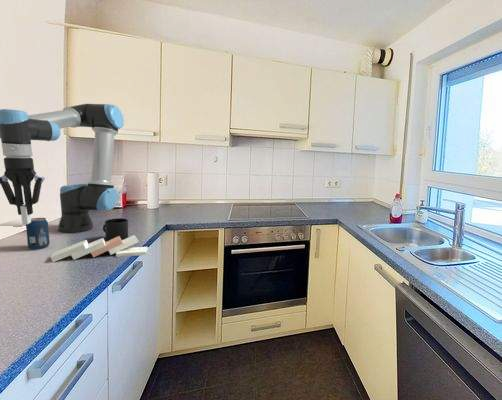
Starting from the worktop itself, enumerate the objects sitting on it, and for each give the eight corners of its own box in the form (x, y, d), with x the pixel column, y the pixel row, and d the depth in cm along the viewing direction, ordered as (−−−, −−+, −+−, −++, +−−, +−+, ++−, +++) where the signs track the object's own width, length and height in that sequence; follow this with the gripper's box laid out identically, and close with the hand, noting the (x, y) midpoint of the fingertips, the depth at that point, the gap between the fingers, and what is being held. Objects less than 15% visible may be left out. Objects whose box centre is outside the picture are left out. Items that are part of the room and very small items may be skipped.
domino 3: (90, 253, 97) (120, 239, 102) (90, 248, 102) (119, 235, 107) (93, 257, 98) (122, 243, 103) (93, 253, 103) (121, 239, 108)
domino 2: (71, 255, 94) (102, 241, 99) (72, 250, 100) (102, 237, 104) (73, 259, 95) (105, 246, 100) (75, 254, 100) (105, 242, 105)
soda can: (36, 244, 109) (33, 217, 107) (53, 244, 110) (51, 217, 108) (23, 250, 102) (20, 221, 100) (42, 250, 103) (39, 221, 101)
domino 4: (108, 250, 100) (136, 237, 105) (107, 247, 105) (134, 234, 110) (110, 254, 100) (138, 241, 106) (109, 251, 105) (136, 238, 111)
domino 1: (50, 257, 92) (83, 244, 96) (54, 251, 98) (86, 239, 101) (53, 262, 93) (86, 249, 96) (57, 256, 98) (88, 244, 102)
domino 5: (116, 253, 100) (146, 251, 103) (118, 248, 105) (147, 246, 109) (116, 258, 100) (146, 256, 104) (118, 252, 106) (147, 251, 109)
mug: (110, 235, 126) (109, 217, 125) (132, 237, 124) (132, 219, 123) (95, 240, 117) (94, 221, 116) (119, 243, 115) (118, 223, 114)
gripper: (-13, 156, 82) (-2, 227, 87) (37, 158, 87) (44, 225, 91) (0, 156, 89) (9, 221, 94) (45, 157, 94) (52, 219, 98)
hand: (26, 223), depth 93 cm, fingers closed
